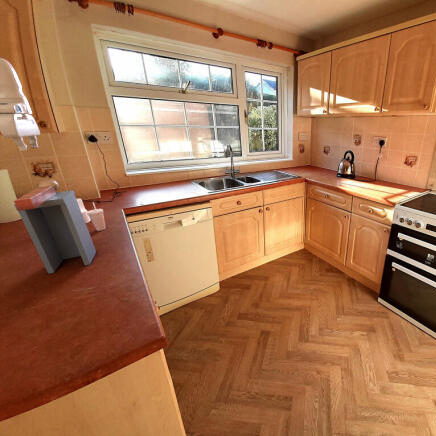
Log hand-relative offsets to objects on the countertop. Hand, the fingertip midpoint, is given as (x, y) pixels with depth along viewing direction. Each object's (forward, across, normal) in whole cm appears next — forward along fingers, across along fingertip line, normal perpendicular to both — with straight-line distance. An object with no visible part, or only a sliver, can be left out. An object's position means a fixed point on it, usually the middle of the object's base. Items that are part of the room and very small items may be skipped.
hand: (29, 149), depth 90 cm
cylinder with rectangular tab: (+41, -32, -3) cm, 52 cm away
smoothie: (+41, -15, +9) cm, 44 cm away
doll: (+15, +22, +5) cm, 27 cm away
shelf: (+41, +18, +5) cm, 45 cm away
